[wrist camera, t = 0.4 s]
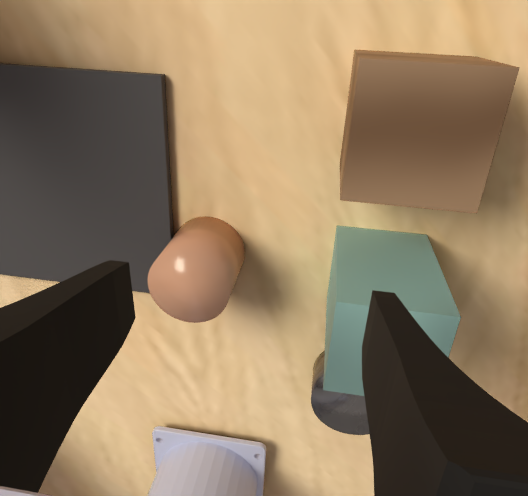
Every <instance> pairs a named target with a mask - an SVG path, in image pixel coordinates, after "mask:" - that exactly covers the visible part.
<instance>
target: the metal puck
mask: <svg viewBox="0 0 528 496" xmlns="http://www.w3.org/2000/svg"><path fill="white" fill-rule="evenodd" d="M324 359H325V350H324V351H323V352H322V353H321V354H320V355H319V357H318V358H317V360H316V362H315V364H314V368H313V381H312V395H311V404H312V408H313V411H314V413H315V414H316V416H317V417H318V418H319V419H320V420H321V421H322V422H323V423H324V424H325V425H327V426H328V427H330V428H332V429H334V430H337V431H339V432H342V433H347V434H353V435H365V434H370V432H369V425H368V418H367V411H366V404H365V396H360V395H353V394H346V393H339V392H332V391H326V390H323V383H324Z"/></svg>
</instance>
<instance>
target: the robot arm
mask: <svg viewBox="0 0 528 496" xmlns="http://www.w3.org/2000/svg"><path fill="white" fill-rule="evenodd" d="M134 320H135V310H134V302H133V293H132V284H131V276H130V267H129V262H122V261H113V260H109V261H106V262H103V263H101V264H98V265H96V266H94V267H92V268H89V269H87V270H85V271H83V272H81V273H79V274H77V275H75V276H73V277H70V278H68V279H66V280H64V281H62V282H60V283H58V284H56V285H54V286H51V287H49V288H47V289H45V290H42V291H40V292H38V293H36V294H33V295H31V296H29V297H26V298H24V299H22V300H19V301H17V302H15V303H12V304H9V305H7V306H4V307H2V308H0V496H52V495H47V494H41V493H38V491H39V489H40V487H41V485H42V482H43V480H44V478H45V476H46V474H47V472H48V470H49V468H50V466H51V464H52V462H53V460H54V458H55V456H56V454H57V452H58V450H59V448H60V446H61V444H62V442H63V440H64V438H65V436H66V434H67V432H68V431H69V429H70V427H71V425H72V423H73V421H74V419H75V417H76V416H77V414H78V412H79V411H80V409H81V407H82V406H83V404H84V403H85V401H86V400H87V398H88V397H89V395H90V394H91V392H92V391H93V389H94V388H95V386H96V385H97V383H98V382H99V380H100V379H101V377H102V376H103V374H104V373H105V371H106V370H107V368H108V367H109V365H110V364H111V362H112V361H113V359H114V358H115V356H116V355H117V353H118V352H119V350H120V348H121V347H122V345H123V343H124V341H125V339H126V337H127V335H128V333H129V331H130V329H131V326H132V324H133V322H134ZM362 381H363V389H364V396H365V404H366V411H367V418H368V425H369V432H370V439H371V446H372V455H373V466H374V493H375V496H528V422H526V421H525V420H523V419H522V418H520V417H519V416H517V415H516V414H515V413H513V412H512V411H510V410H509V409H508V408H506V407H505V406H504V405H502V404H501V403H500V402H498V401H497V400H496V399H494V398H493V397H492V396H490V395H489V394H488V393H487V392H486V391H484V390H483V389H482V388H481V387H479V386H478V385H477V384H476V383H475V382H474V381H473V380H471V379H470V378H469V377H468V376H467V375H466V374H465V373H464V372H462V371H461V370H460V369H459V368H458V367H457V366H456V365H455V364H454V363H453V362H452V361H451V360H450V359H449V358H448V357H447V356H446V355H445V354H444V353H443V352H442V351H441V350H440V349H439V348H438V347H437V345H436V344H435V343H434V342H433V341H432V340H431V339H430V337H429V336H428V335H427V334H426V333H425V331H424V330H423V329H422V328H421V327H420V325H419V324H418V323H417V322H416V320H415V319H414V318H413V316H412V315H411V314H410V312H409V311H408V310H407V308H406V307H405V306H404V304H403V303H402V302H401V300H400V299H399V298H398V297H397V295H396V294H395V293H392V292H384V291H375V290H372V295H371V300H370V306H369V311H368V317H367V322H366V327H365V333H364V338H363V343H362ZM152 435H153V444H154V454H155V463H156V476H155V478H154V481H153V483H152V486H151V488H150V490H149V493H148V495H147V496H263V488H264V474H265V460H266V446H265V445H264V444H263V443H261V442H256V441H249V440H243V439H237V438H231V437H224V436H218V435H212V434H206V433H199V432H193V431H187V430H181V429H174V428H168V427H162V426H157V427H155V428H154V430H153V433H152Z"/></svg>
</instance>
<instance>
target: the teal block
mask: <svg viewBox="0 0 528 496" xmlns="http://www.w3.org/2000/svg"><path fill="white" fill-rule="evenodd" d="M372 290H375V291H384V292H392V293H395V294H396V295H397V297H398V298H399V299H400V300H401V302H402V303H403V304H404V306H405V307H406V308H407V310H408V311H409V312H410V314H411V315H412V316H413V318H414V319H415V320H416V322H417V323H418V324H419V325H420V327H421V328H422V329H423V330H424V331H425V333H426V334H427V335H428V336H429V337H430V339H431V340H432V341H433V342H434V343H435V344H436V345H437V347H438V348H439V349H440V350H441V351H442V352H443V353H444V354H445V355H446V356H447V357H449V354H450V351H451V347H452V344H453V341H454V338H455V335H456V331H457V328H458V325H459V322H460V319H461V316H460V314H459V311H458V309H457V306H456V304H455V302H454V299H453V297H452V294H451V292H450V289H449V287H448V285H447V282H446V280H445V277H444V275H443V273H442V270H441V268H440V265H439V263H438V261H437V258H436V256H435V253H434V251H433V248H432V246H431V244H430V241H429V239H428V236H427V235H424V234H414V233H404V232H394V231H385V230H375V229H365V228H355V227H346V226H337V228H336V235H335V243H334V250H333V257H332V265H331V272H330V280H329V287H328V295H327V310H326V335H325V359H324V383H323V390H326V391H332V392H339V393H346V394H353V395H360V396H364V389H363V381H362V343H363V338H364V333H365V327H366V322H367V317H368V311H369V306H370V300H371V295H372Z"/></svg>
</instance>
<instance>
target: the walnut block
mask: <svg viewBox="0 0 528 496" xmlns="http://www.w3.org/2000/svg"><path fill="white" fill-rule="evenodd" d="M518 71H519V67H515V66H511V65H507V64H503V63H499V62H495V61H491V60H487V59H483V58H479V57H472V56H455V55H437V54H420V53H403V52H385V51H368V50H354V57H353V65H352V73H351V81H350V88H349V96H348V104H347V112H346V120H345V127H344V135H343V143H342V151H341V158H340V200H343V201H353V202H364V203H374V204H385V205H395V206H406V207H416V208H427V209H437V210H448V211H458V212H469V213H477V211H478V208H479V204H480V201H481V198H482V194H483V191H484V187H485V184H486V180H487V177H488V174H489V170H490V167H491V163H492V160H493V157H494V153H495V150H496V146H497V143H498V139H499V136H500V133H501V129H502V126H503V122H504V119H505V116H506V112H507V109H508V105H509V102H510V98H511V95H512V92H513V88H514V85H515V81H516V78H517V75H518Z"/></svg>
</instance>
